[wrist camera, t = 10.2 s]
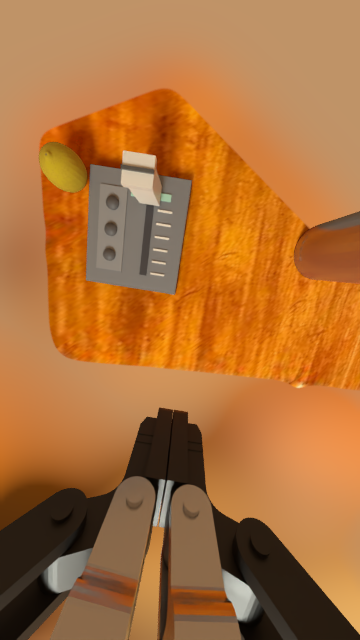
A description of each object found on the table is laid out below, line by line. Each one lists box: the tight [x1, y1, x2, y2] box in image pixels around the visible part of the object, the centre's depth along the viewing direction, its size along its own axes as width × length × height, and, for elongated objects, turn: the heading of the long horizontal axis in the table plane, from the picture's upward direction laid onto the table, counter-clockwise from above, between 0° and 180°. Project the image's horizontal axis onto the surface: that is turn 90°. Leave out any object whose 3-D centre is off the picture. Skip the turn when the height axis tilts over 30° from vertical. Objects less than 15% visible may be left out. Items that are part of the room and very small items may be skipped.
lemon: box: [39, 142, 87, 192], centre depth 30 cm, size 6×6×8 cm
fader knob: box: [121, 151, 162, 206], centre depth 27 cm, size 4×3×8 cm
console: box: [86, 164, 192, 295], centre depth 34 cm, size 16×18×3 cm
